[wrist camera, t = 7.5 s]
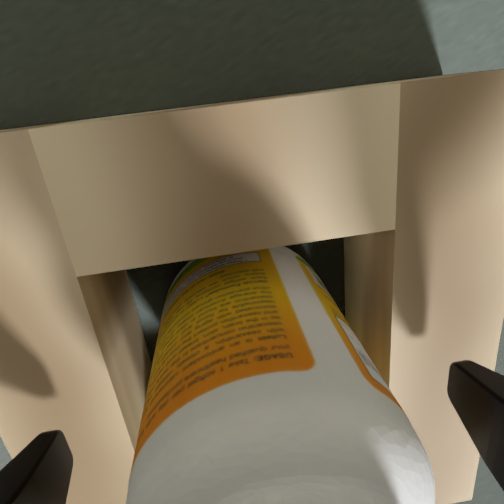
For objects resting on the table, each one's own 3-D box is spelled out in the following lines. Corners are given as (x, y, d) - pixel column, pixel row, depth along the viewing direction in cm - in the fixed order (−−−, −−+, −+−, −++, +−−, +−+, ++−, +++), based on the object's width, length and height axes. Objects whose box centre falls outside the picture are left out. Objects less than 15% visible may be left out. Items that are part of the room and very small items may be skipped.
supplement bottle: (143, 350, 13) (4, 910, 4) (197, 210, 11) (163, 631, 2) (282, 387, 14) (411, 871, 5) (349, 266, 13) (697, 674, 4)
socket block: (443, 74, 11) (547, 64, 7) (417, 416, 16) (471, 499, 12) (-31, 134, 10) (-147, 150, 7) (102, 473, 15) (73, 577, 12)
